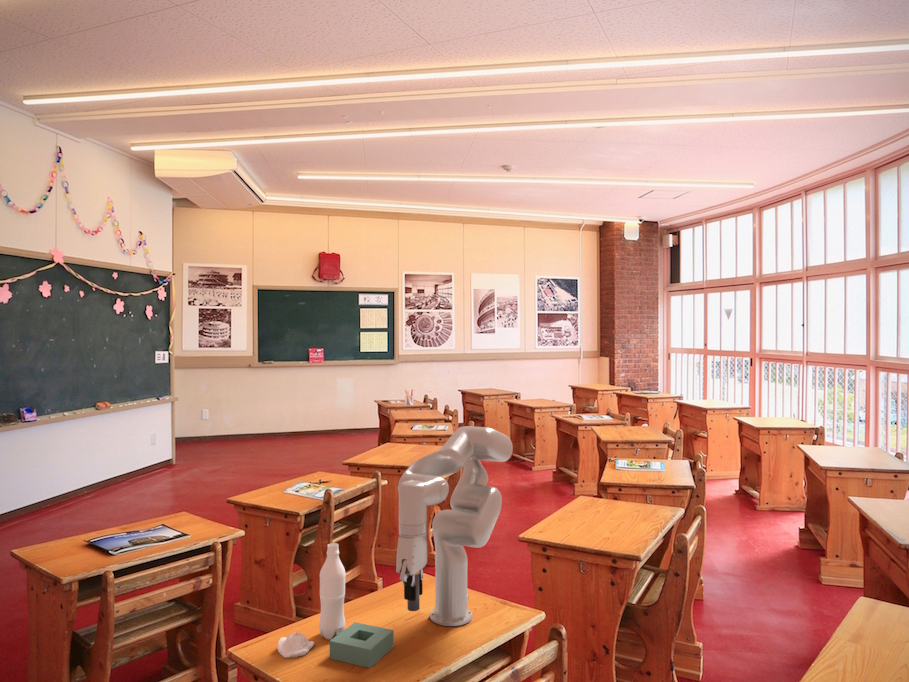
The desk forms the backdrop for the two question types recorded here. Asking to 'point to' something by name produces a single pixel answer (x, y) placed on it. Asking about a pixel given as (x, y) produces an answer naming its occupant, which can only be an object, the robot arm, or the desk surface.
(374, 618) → the desk surface
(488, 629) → the desk surface
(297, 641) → the rose
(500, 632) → the desk surface
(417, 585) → the round peg
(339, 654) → the socket block
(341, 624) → the water bottle
